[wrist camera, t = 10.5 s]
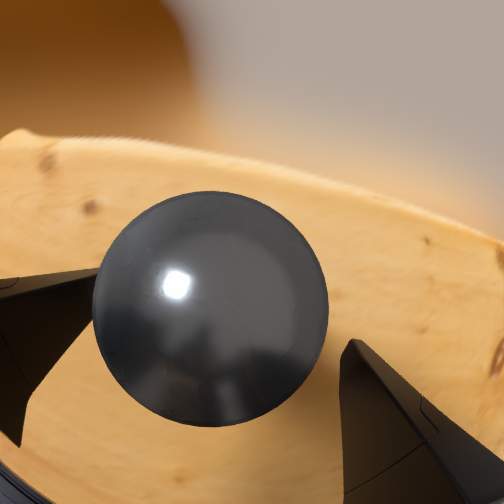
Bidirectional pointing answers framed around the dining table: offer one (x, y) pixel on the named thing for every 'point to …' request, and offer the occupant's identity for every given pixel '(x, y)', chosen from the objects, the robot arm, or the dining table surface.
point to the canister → (210, 309)
